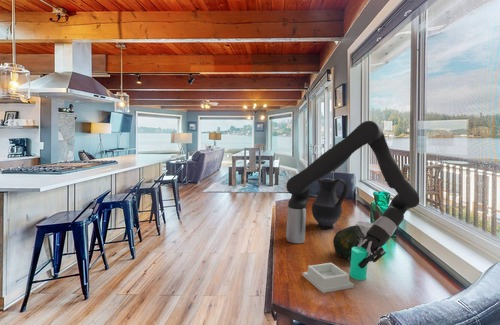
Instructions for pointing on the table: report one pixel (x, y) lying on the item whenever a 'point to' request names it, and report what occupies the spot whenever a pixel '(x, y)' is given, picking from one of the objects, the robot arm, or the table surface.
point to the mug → (364, 226)
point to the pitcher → (328, 203)
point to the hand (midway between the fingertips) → (355, 263)
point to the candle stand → (328, 277)
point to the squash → (346, 240)
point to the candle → (356, 258)
